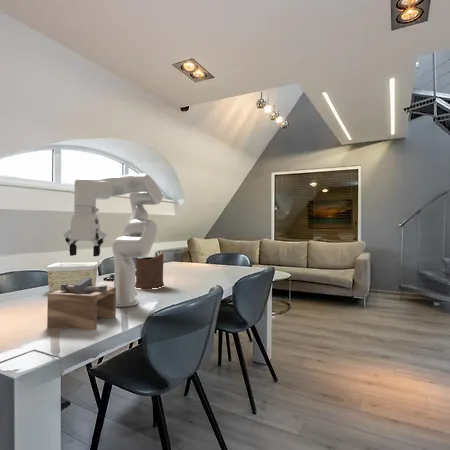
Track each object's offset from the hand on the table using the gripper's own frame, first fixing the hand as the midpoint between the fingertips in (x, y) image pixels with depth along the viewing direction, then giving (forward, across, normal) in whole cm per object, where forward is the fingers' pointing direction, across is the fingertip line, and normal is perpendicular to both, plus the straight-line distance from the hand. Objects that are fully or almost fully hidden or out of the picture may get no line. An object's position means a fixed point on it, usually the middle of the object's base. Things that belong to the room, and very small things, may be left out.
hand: (84, 255), depth 120 cm
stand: (+25, 0, 0) cm, 25 cm away
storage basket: (+26, +40, -53) cm, 71 cm away
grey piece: (+18, 0, 0) cm, 18 cm away
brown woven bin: (+26, +4, -68) cm, 73 cm away
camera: (+27, +34, -84) cm, 95 cm away
